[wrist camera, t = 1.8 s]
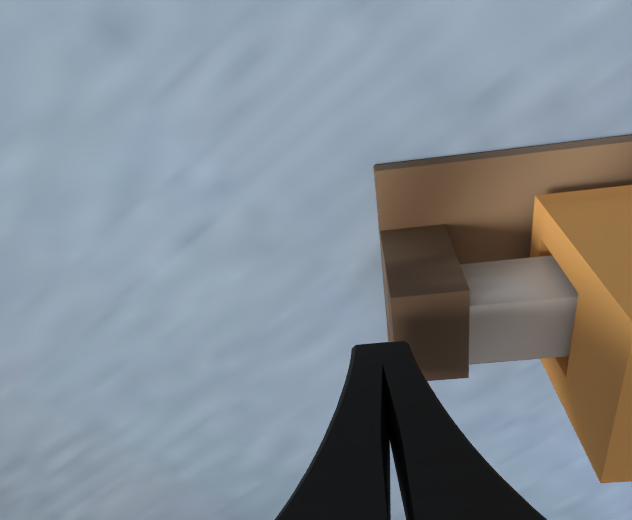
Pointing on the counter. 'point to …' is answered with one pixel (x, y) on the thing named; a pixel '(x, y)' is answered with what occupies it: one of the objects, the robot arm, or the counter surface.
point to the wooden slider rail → (482, 251)
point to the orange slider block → (594, 318)
